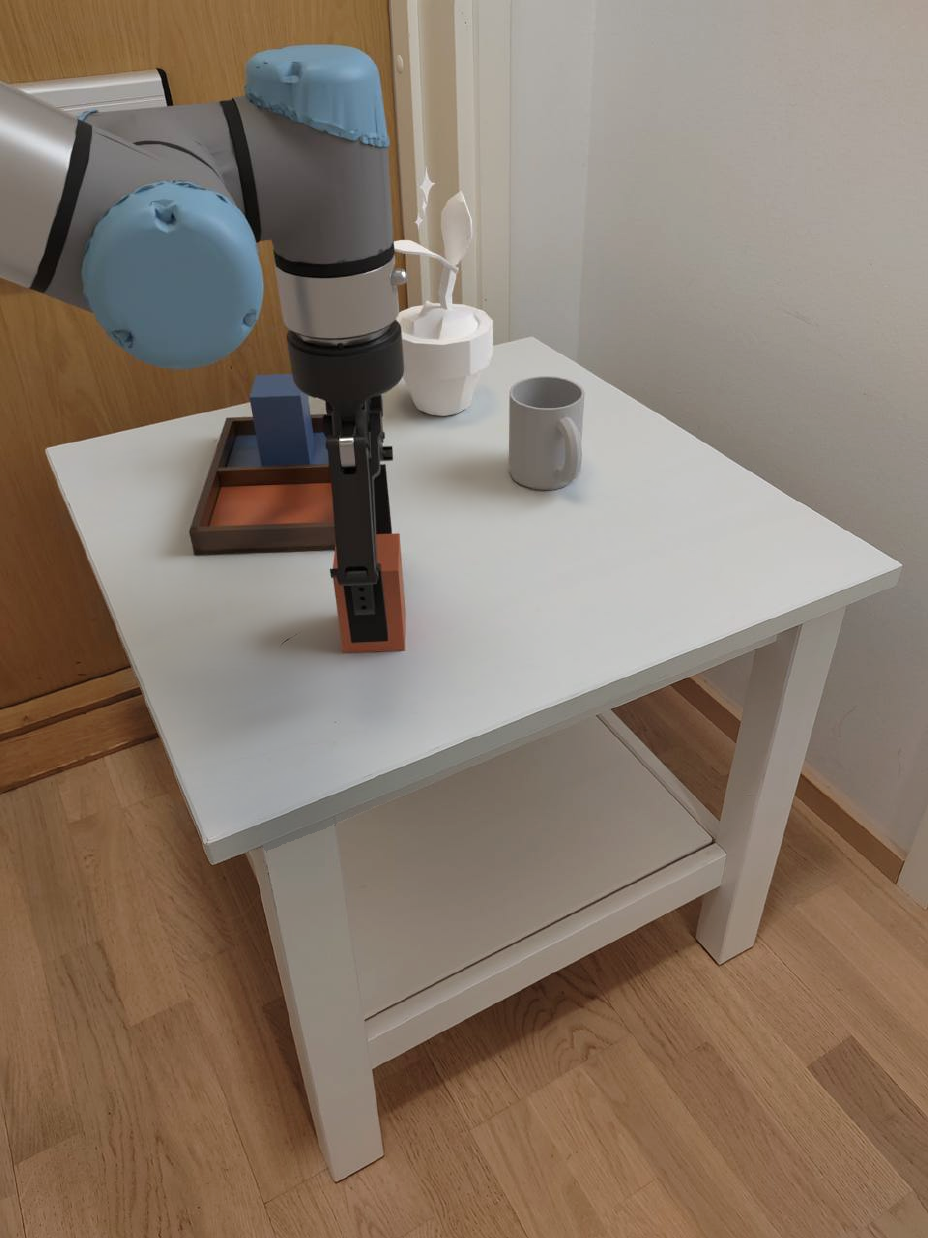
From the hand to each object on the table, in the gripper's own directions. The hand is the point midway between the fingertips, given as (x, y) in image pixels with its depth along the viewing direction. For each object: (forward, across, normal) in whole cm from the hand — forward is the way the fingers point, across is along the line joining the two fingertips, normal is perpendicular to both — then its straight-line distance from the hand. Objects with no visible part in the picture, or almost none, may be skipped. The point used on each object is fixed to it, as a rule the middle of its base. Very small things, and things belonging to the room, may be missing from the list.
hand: (373, 583), depth 76 cm
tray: (+5, +23, +10) cm, 26 cm away
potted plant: (+5, +40, -6) cm, 41 cm away
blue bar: (+4, +28, +10) cm, 30 cm away
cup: (+5, +23, -17) cm, 29 cm away
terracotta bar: (+5, 0, 0) cm, 5 cm away
